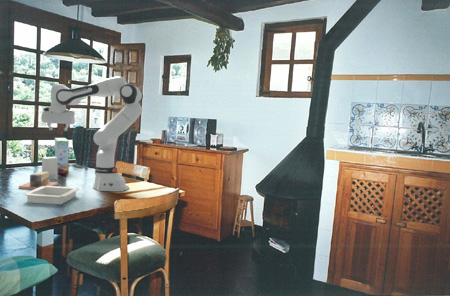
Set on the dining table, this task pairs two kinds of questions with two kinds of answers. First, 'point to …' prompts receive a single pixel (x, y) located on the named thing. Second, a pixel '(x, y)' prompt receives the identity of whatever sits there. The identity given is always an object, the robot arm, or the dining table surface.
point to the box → (39, 179)
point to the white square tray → (51, 194)
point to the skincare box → (50, 166)
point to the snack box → (61, 154)
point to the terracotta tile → (27, 186)
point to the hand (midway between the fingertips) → (58, 130)
